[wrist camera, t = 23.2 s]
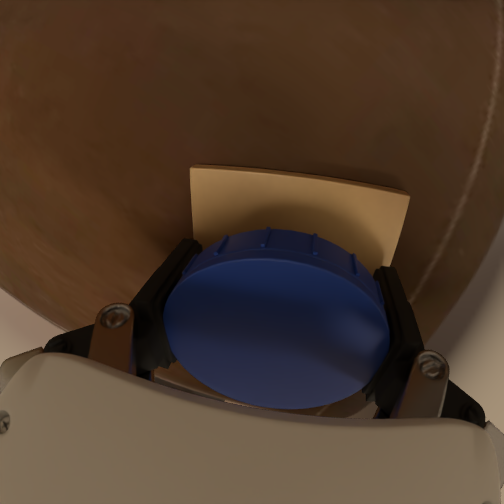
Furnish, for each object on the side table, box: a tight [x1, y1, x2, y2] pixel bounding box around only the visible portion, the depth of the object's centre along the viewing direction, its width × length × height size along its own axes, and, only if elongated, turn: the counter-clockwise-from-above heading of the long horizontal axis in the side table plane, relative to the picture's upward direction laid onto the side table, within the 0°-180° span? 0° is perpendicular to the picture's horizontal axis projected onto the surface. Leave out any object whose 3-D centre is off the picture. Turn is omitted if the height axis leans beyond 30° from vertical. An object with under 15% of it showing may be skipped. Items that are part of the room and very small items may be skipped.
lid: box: [163, 227, 390, 409], centre depth 8 cm, size 7×7×2 cm
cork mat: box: [190, 164, 410, 277], centre depth 11 cm, size 8×8×1 cm
